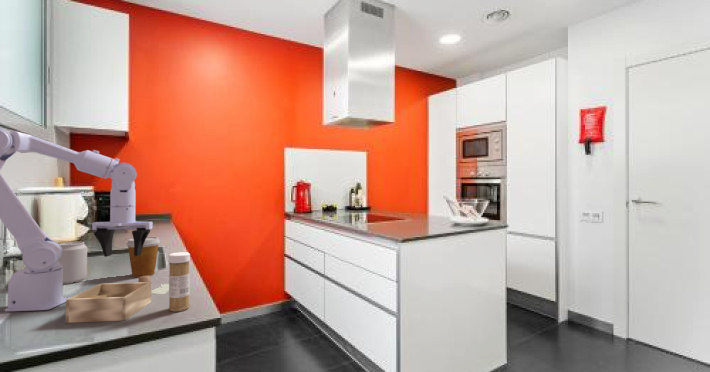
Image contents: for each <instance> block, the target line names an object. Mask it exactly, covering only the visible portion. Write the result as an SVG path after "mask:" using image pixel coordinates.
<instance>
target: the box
mask: <svg viewBox="0 0 710 372" xmlns="http://www.w3.org/2000/svg"><path fill="white" fill-rule="evenodd" d="M151 285H152V281H151V282H142V283H138V282H117V283H116V282H115V283H114V282H113V283H111V282H110V283H99V284H97V285H95V286H93V287H90V288H87V289H86V290H84V291H82V292H80V293H77V294H75V295H72V296H71V298H69V299H66V302H65V324H68V323H69V324H71V323H91V322H93V323H94V322H96V323H97V322H117V321H118V322H119V321H126V320H128V319H129V318H131V317H132V316H134V315H135V314H137V313H138V312H139V311H141V310H142V309H144V308H145V307H147V305H149V304H150V303H151V302H152V293H151ZM99 295H108V297H107V298H87V297H89V296H99Z"/></svg>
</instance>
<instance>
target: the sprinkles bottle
mask: <svg viewBox="0 0 710 372" xmlns="http://www.w3.org/2000/svg"><path fill="white" fill-rule="evenodd" d="M190 260H191V254H190V253H189V252H187V251H180V252H173V253H170V254H169V255H168V263H169V264H168V265H169V267H168V268H169V271H168V284H169V291H168V299H169V301H168V302H169V305H168V306H169V308H168V310H169V311H170V312H175V313H176V312H183V311H186V310H188V309H189V308H190V277H191V276H190Z"/></svg>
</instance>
